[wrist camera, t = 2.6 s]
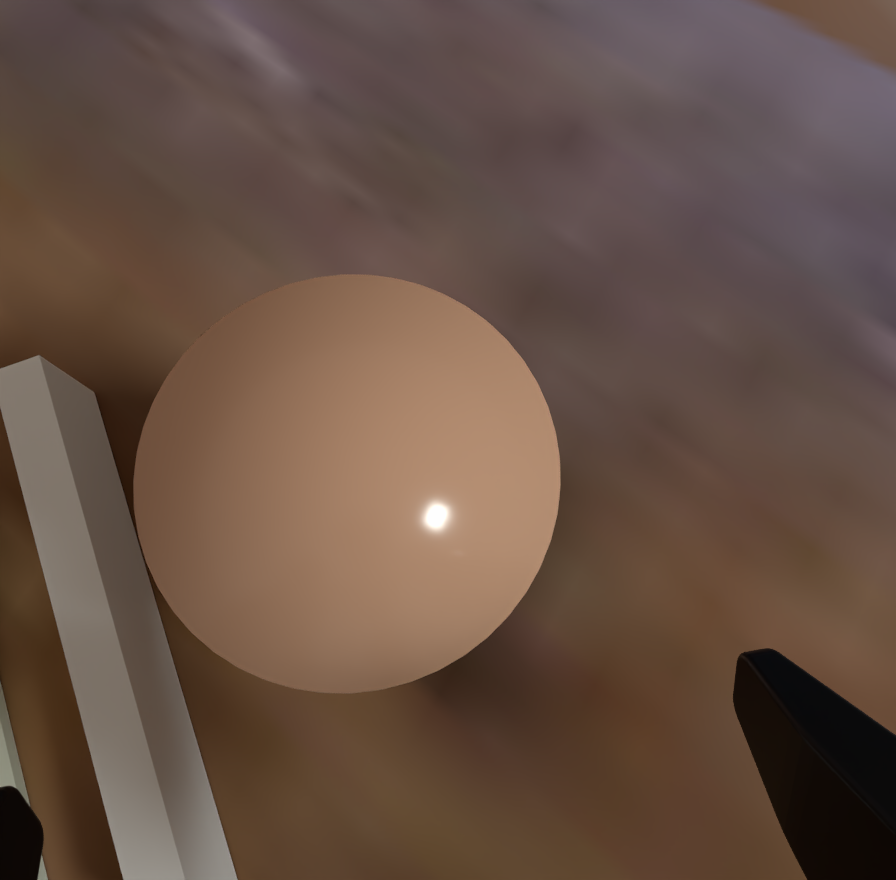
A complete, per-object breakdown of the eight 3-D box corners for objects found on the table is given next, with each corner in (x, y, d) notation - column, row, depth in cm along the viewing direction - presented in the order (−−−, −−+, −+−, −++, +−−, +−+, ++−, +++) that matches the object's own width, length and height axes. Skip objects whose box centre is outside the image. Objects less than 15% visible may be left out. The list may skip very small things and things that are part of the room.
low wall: (245, 906, 18) (207, 957, 15) (197, 926, 18) (150, 982, 15) (94, 392, 22) (38, 354, 19) (52, 407, 21) (-9, 371, 19)
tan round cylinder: (444, 697, 20) (440, 778, 9) (259, 599, 20) (48, 563, 10) (535, 509, 21) (628, 381, 10) (358, 421, 21) (270, 212, 11)
